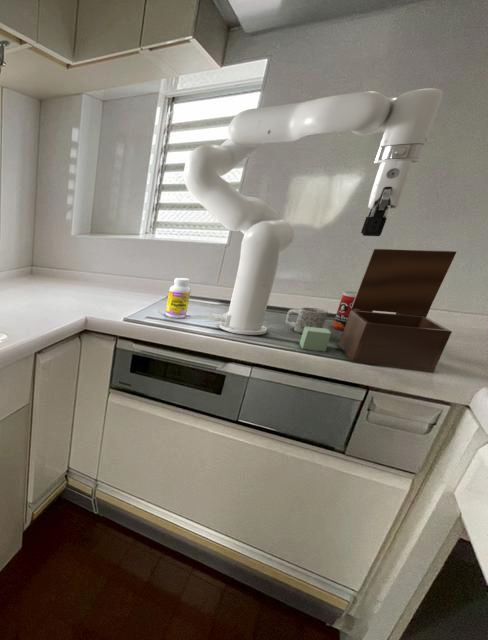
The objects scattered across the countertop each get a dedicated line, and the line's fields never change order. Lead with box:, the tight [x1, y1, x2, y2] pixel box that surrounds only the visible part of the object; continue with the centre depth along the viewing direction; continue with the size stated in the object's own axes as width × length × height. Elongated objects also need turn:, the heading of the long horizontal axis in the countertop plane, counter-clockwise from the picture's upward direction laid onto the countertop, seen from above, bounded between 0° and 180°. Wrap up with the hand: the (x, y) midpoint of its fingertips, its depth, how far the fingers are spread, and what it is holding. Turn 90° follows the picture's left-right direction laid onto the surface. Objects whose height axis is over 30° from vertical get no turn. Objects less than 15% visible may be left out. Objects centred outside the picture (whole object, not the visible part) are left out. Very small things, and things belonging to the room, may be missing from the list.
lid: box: [351, 248, 457, 316], centre depth 101 cm, size 15×15×5 cm
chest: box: [338, 310, 453, 373], centre depth 99 cm, size 15×15×10 cm
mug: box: [285, 307, 329, 334], centre depth 123 cm, size 10×7×7 cm
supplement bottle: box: [165, 277, 192, 319], centre depth 138 cm, size 7×7×13 cm
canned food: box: [332, 290, 374, 332], centre depth 123 cm, size 8×8×11 cm
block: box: [298, 326, 333, 353], centre depth 108 cm, size 5×5×5 cm
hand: (369, 234), depth 98 cm, fingers open, 9 cm apart
